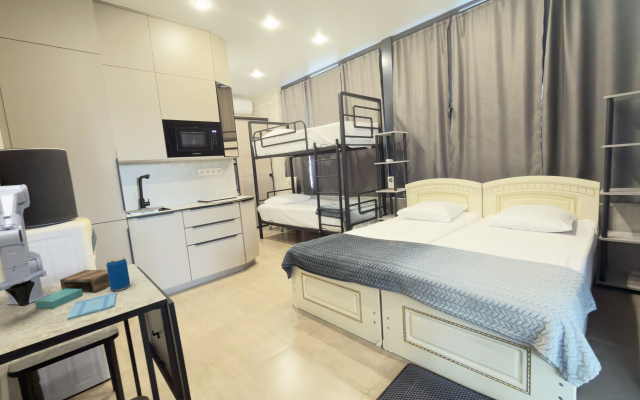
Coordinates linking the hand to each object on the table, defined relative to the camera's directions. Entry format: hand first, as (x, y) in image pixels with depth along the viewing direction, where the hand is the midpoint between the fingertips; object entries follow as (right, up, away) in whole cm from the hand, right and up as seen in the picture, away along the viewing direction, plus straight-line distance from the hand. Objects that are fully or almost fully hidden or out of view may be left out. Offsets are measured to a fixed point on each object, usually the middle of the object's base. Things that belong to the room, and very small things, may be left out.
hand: (24, 305), depth 92 cm
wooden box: (+4, -1, +23) cm, 23 cm away
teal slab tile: (+2, -3, +11) cm, 12 cm away
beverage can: (+18, -1, +19) cm, 27 cm away
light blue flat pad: (+19, -3, +5) cm, 20 cm away
